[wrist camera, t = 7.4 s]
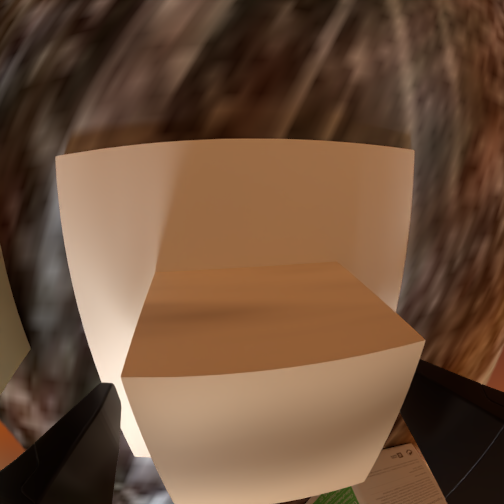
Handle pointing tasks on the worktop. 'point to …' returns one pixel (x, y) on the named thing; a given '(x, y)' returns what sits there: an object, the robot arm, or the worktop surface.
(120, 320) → the baseplate
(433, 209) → the worktop surface
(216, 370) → the maple block
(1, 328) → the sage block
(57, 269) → the worktop surface
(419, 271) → the worktop surface
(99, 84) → the worktop surface
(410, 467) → the skincare box
